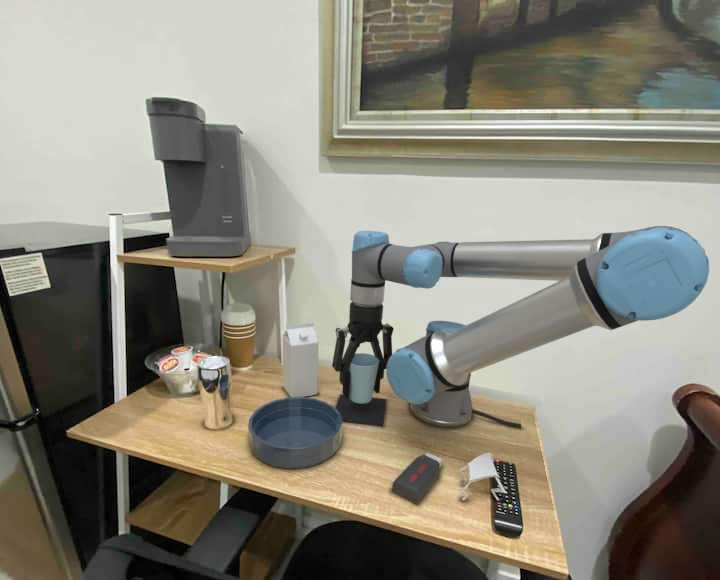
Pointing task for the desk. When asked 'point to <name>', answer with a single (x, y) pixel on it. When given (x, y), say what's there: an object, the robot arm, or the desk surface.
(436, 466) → the usb drive
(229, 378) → the silver metal cylinder
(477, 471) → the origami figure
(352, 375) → the cup
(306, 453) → the bowl
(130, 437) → the desk surface
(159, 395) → the desk surface
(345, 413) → the coaster
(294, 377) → the milk carton
